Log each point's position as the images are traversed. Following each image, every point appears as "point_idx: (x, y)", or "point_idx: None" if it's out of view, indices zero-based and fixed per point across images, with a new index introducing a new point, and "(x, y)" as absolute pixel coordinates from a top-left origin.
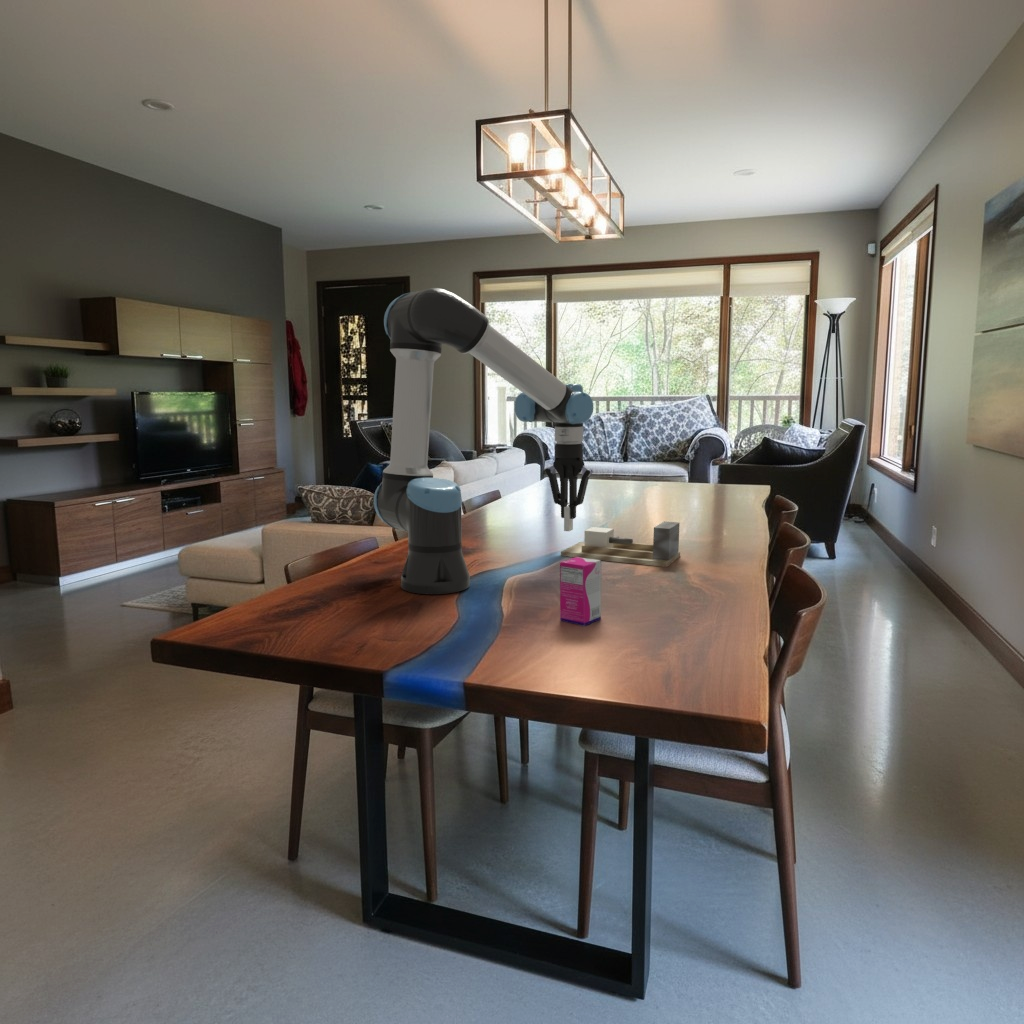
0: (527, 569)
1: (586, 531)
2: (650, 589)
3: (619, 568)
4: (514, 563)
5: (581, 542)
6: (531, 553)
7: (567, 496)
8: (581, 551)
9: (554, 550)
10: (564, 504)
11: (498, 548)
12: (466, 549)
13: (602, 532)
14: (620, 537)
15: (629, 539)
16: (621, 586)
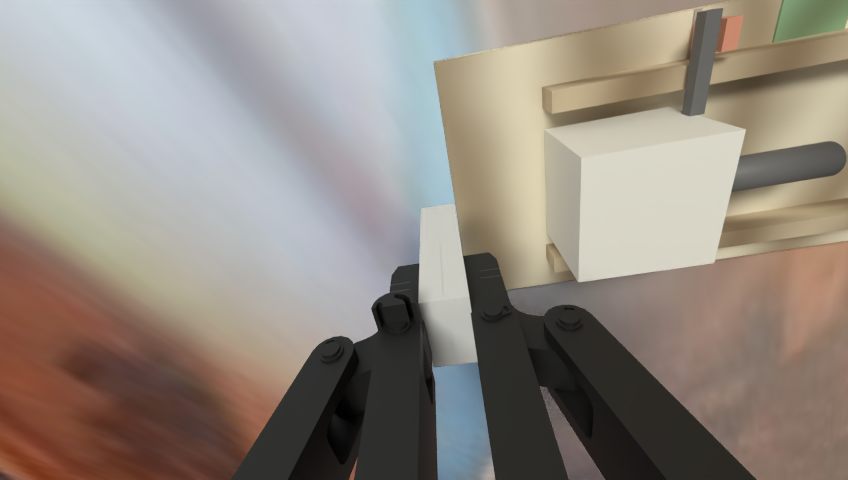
0: (474, 438)
1: (588, 279)
2: (831, 433)
3: (726, 319)
4: None
5: (447, 69)
6: (353, 305)
7: (420, 386)
8: (542, 252)
9: (387, 218)
10: (434, 380)
11: (200, 307)
12: (147, 369)
13: (688, 265)
14: (732, 19)
15: (825, 173)
16: (754, 443)
